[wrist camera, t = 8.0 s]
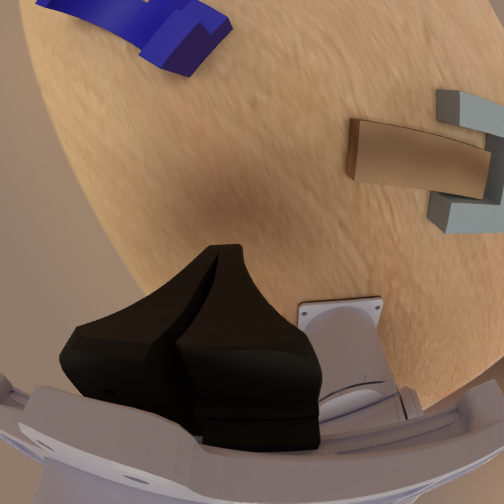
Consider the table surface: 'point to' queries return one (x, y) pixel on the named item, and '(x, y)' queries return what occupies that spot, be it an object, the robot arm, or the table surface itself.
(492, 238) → the table surface
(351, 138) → the slat
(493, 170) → the end cap
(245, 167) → the table surface
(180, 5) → the cable clip
